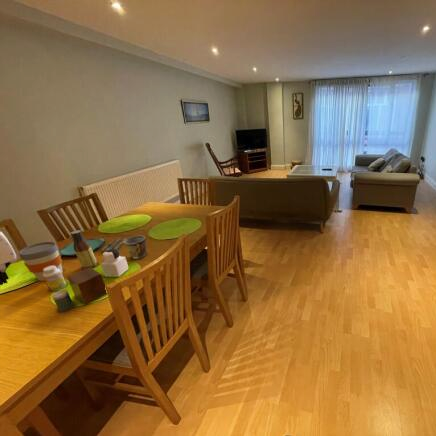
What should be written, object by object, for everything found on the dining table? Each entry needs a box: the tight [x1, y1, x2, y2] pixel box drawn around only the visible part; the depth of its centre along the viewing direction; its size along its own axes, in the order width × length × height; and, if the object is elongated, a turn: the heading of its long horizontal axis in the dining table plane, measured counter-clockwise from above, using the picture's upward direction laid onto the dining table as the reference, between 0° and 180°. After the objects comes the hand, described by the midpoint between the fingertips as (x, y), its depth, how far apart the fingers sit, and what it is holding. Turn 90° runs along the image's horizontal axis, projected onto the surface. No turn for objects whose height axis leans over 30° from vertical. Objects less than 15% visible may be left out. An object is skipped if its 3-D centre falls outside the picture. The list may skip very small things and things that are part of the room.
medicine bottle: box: [100, 248, 130, 278], centre depth 115 cm, size 7×7×12 cm
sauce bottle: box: [70, 229, 98, 270], centre depth 118 cm, size 6×6×20 cm
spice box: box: [66, 267, 108, 305], centre depth 100 cm, size 8×10×10 cm
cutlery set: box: [58, 237, 127, 258], centre depth 139 cm, size 20×30×2 cm, turn 101°
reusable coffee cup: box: [18, 241, 64, 282], centre depth 113 cm, size 13×13×15 cm
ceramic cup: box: [123, 235, 147, 260], centre depth 129 cm, size 13×10×10 cm
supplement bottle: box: [43, 266, 67, 291], centre depth 105 cm, size 6×6×10 cm
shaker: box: [52, 289, 74, 312], centre depth 94 cm, size 8×4×8 cm
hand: (2, 282), depth 79 cm, fingers closed
